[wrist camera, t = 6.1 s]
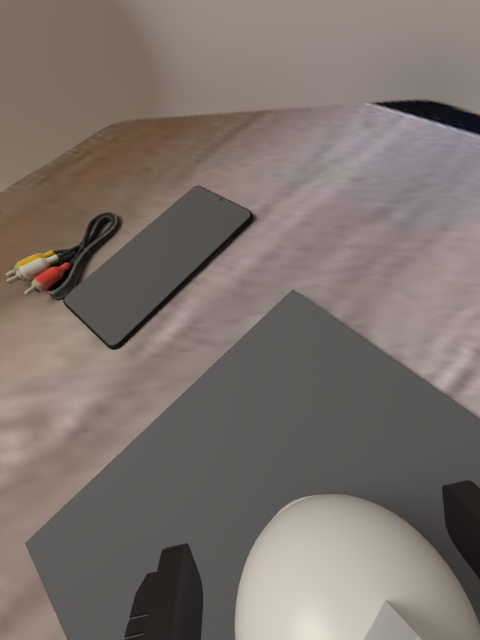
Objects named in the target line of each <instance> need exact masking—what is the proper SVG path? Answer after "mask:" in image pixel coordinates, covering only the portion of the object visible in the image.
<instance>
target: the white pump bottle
mask: <svg viewBox="0 0 480 640" xmlns="http://www.w3.org/2000/svg"><path fill="white" fill-rule="evenodd" d="M235 640H480V624H479V621H478V619H477V617H476V614H475V612H474V610H473V607H472V605H471V603H470V601H469V599H468V597H467V595H466V593H465V592H464V590H463V588H462V586H461V584H460V582H459V581H458V579H457V578H456V576H455V575H454V573H453V572H452V570H451V569H450V567H449V566H448V564H447V563H446V562H445V561H444V559H443V558H442V557H441V556H440V554H439V553H438V552H437V551H436V550H435V548H434V547H433V546H432V545H431V544H430V543H429V542H428V541H427V540H426V539H425V538H424V537H423V536H422V535H421V534H420V533H419V532H418V531H417V530H416V529H414V528H413V527H412V526H411V525H410V524H408V523H407V522H406V521H405V520H403V519H402V518H400V517H399V516H397V515H396V514H394V513H393V512H391V511H389V510H387V509H385V508H384V507H382V506H380V505H378V504H375V503H373V502H370V501H367V500H364V499H362V498H358V497H354V496H349V495H341V494H324V495H314V496H305V497H300V498H297V499H294V500H292V501H291V502H289V503H287V504H286V505H285V506H284V507H282V508H281V510H280V511H279V512H278V513H277V514H276V515H275V516H274V517H273V519H272V520H271V521H270V522H269V523H268V524H267V525H266V527H265V528H264V529H263V531H262V532H261V534H260V535H259V536H258V538H257V540H256V541H255V543H254V545H253V547H252V549H251V551H250V553H249V555H248V558H247V560H246V563H245V565H244V569H243V572H242V576H241V580H240V583H239V588H238V594H237V600H236V610H235Z"/></svg>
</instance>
